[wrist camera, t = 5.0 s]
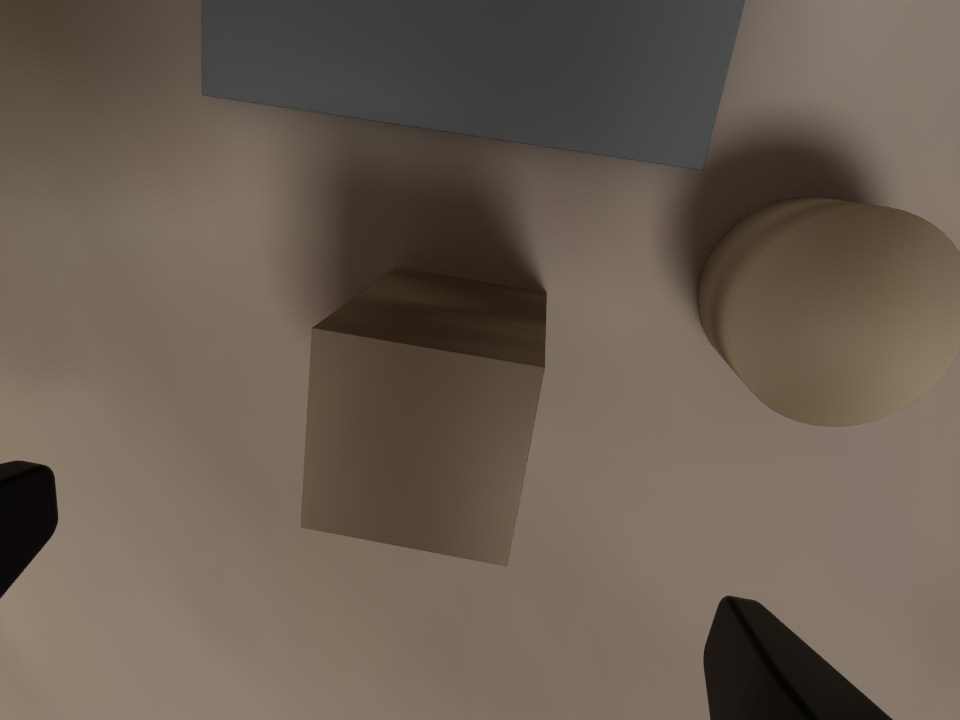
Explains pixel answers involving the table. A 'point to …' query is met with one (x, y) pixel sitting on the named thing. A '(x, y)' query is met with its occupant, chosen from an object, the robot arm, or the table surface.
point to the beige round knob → (833, 308)
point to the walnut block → (424, 414)
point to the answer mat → (488, 67)
